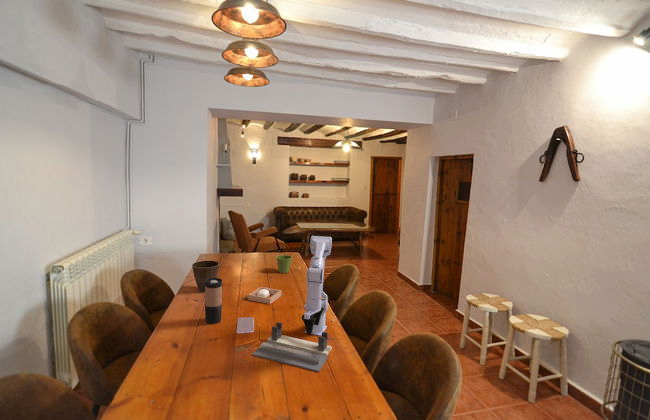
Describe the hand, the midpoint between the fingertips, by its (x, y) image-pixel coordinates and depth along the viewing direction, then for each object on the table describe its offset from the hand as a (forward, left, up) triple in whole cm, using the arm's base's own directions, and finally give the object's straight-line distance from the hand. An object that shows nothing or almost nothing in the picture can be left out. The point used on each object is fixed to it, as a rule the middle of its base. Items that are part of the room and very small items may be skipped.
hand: (312, 328), depth 132 cm
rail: (+8, -6, -9) cm, 13 cm away
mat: (+8, -6, -9) cm, 14 cm away
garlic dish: (-41, -44, -9) cm, 61 cm away
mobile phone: (-8, -36, -10) cm, 38 cm away
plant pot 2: (-89, -55, -10) cm, 105 cm away
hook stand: (-1, -6, -9) cm, 11 cm away
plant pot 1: (-36, -81, -10) cm, 89 cm away
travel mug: (-5, -52, -10) cm, 53 cm away
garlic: (-43, -46, -10) cm, 64 cm away
